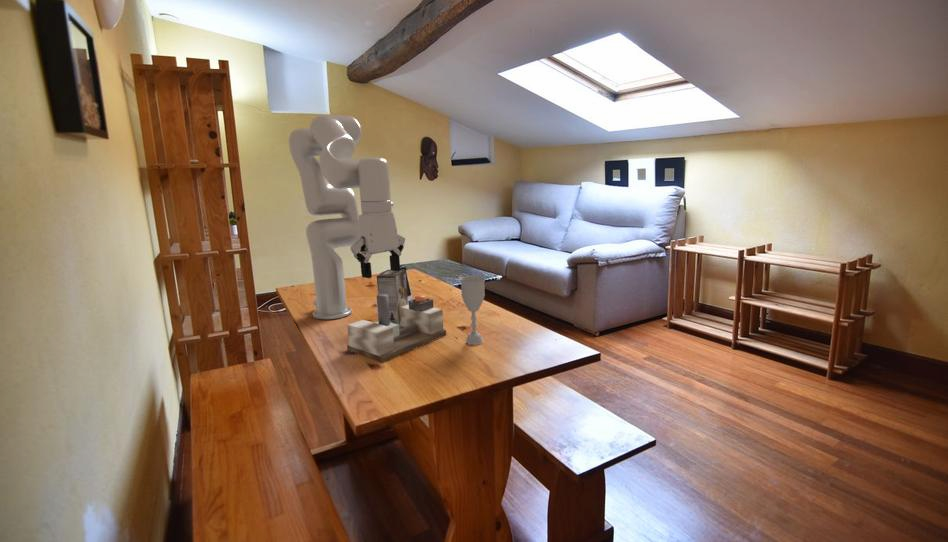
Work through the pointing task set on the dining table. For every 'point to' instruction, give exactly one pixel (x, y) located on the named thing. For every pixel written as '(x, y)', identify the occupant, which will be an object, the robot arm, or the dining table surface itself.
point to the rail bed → (415, 331)
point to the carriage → (385, 314)
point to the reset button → (420, 298)
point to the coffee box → (394, 292)
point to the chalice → (473, 302)
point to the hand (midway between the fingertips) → (381, 273)
